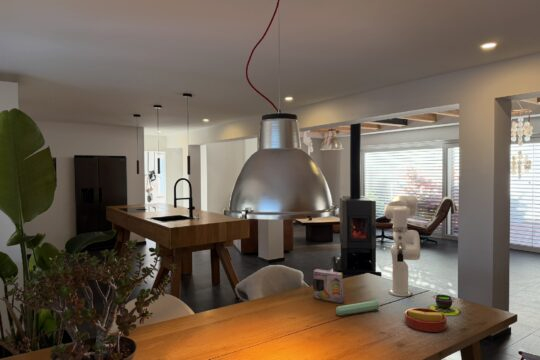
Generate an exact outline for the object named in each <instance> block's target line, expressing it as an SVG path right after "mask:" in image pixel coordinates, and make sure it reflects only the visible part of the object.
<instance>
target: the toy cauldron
mask: <svg viewBox="0 0 540 360" xmlns="http://www.w3.org/2000/svg"><path fill="white" fill-rule="evenodd" d="M449 294H450V295H447V294H441V293H440V294H439V293H438V291H436V294H435V295H433V296H432V298H434V299H435V301H434V302H435V305H430V306H429V307H428V309H432V310H435V311H438V312H441V313H443V314H444V315H445V316H456V315H458V314H460V313H459V312H460V311H459V310H458V309H457V308H455V307H452V305H453V303H455V300H456V298H455V297H453V296H452V293H450V292H449Z"/></svg>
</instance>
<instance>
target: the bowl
mask: <svg viewBox="0 0 540 360" xmlns="http://www.w3.org/2000/svg"><path fill="white" fill-rule="evenodd" d="M409 310H416V311H422V312H437V313H441V312H438V311H435V310H432V309H429V308H424V307H412V308H409V309H406V310H405V311H404V323H405V324H406V325H407V326H408V327H410V328H412V329H414V330H418V331H423V332H429V333H438V332H442V331H445V330H446V329H447V327H448V318H447V315H444V314H443V313H441V314H442V315H443V321H424V320H419V319H414V318H411V317H409Z"/></svg>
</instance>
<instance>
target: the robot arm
mask: <svg viewBox="0 0 540 360" xmlns="http://www.w3.org/2000/svg"><path fill="white" fill-rule="evenodd" d="M417 214H418V199H417V198H416V196H414V195H397V196H395V197H394V198H393V201H390V202H387V203H386V205H385V206H384V217H385V218H386V219H388V220H391V222H392V232H393V235H392V236H393V242H394V243H395V244H393V245H392V246H391V247H390V253H391V261H392V262H391V264H392V289H390V290H389V293H390V294H391V295H393V296H396V297H410V296H411V295H412V291H410V290H409V265H408V264H407V262H406V261H418V260H420V259H421V241H420V240H421V238H420V234H419V232H418V231H417V230H415V229H414V230H413V229H408V219H409V218H414V217H417Z"/></svg>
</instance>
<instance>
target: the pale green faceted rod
mask: <svg viewBox="0 0 540 360" xmlns="http://www.w3.org/2000/svg"><path fill="white" fill-rule="evenodd" d="M379 310H380V304H379V302H378V300H377V299H373V300H370V301H363V302H356V303H351V304H345V305H339V306H336V308H335V313H336V315H337V316H339V317H342V316H348V315H354V314H359V313H360V314H361V313H367V312H371V311H375V312H378V311H379Z"/></svg>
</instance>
